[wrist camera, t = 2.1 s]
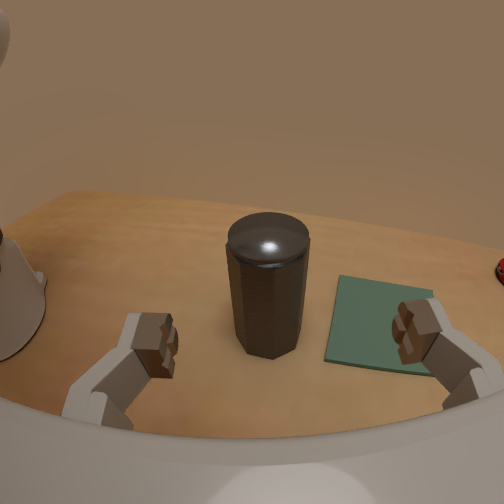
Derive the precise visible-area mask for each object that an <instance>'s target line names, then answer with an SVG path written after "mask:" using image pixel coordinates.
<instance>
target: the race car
mask: <svg viewBox="0 0 504 504" xmlns="http://www.w3.org/2000/svg"><path fill="white" fill-rule="evenodd" d="M496 273H497V276H498V277H499V279H500V280H501V281H502V283H503V284H504V258H503V259H501V260H500V262H499V263H498V265H497V268H496Z"/></svg>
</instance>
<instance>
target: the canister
mask: <svg viewBox="0 0 504 504" xmlns="http://www.w3.org/2000/svg"><path fill="white" fill-rule="evenodd" d="M225 246H226V255H227V264H228V273H229V281H230V290H231V298H232V307H233V315H234V323H235V331H236V336H237V338H238V340H239V341H240V343H241V344H242V346H243V348H244V349H245V351H246V352H247V354H250V355H254V356H259V357H263V358H267V359H272V360H273V359H275V358H277V357H280V356H282V355H284V354H286V353H288V352H290V351H292V350H294V349H295V348H296V344H297V341H298V337H299V334H300V330H301V323H302V315H303V306H304V298H305V289H306V279H307V270H308V259H309V249H310V238H309V232H308V229H307V227H306V226H305V225H304V224H303V223H302V222H301V221H300V220H298V219H296V218H294V217H292V216H289V215H286V214H282V213H274V212H263V213H256V214H252V215H248V216H245V217H243V218H241V219H239V220H238V221H236V222H235V223H234V224H233V225H232V226H231V227H230V229H229V232H228V242H227V243H226V245H225Z"/></svg>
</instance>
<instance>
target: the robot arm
mask: <svg viewBox="0 0 504 504" xmlns="http://www.w3.org/2000/svg"><path fill="white" fill-rule="evenodd" d="M9 38H10V28H9V23H8V20H7V17H6V15H5V13H4V11H3V10H2V9H1V8H0V67H1V65H2V63H3V61H4V59H5V56H6V53H7V49H8V46H9ZM46 281H47V278H46V276H45V275H44V273H43V272H37V271H33V270H32V268H31V266H30V265H29V263H28V261H27V260H26V258H25V256H24V255H23V253H22V251H21V249H20V248H19V246H18V244H17V242H16V241H15V240H11V239H9V238H4V237H3V234H2V231H1V229H0V361H1V360H4V359H6V358H8V357H10V356H11V355H13V354H14V353H16V352H17V351H18V350H20V349H21V348H22V347H23V346H24V345H25V344H26V343H27V342H28V341H29V339H30V338H31V337H32V336H33V334H34V333H35V331H36V330H37V328H38V326H39V325H40V322H41V320H42V318H43V315H44V311H45V297H44V288H45V285H46ZM397 309H398V312H399V313H398V314H397V315H396V316H395V317H394V319H393V322H392V336H393V339H394V341H395V342H396V343H397V344H398V345H400V346H399V348H398V354H399V356H400V359H401V362H402V365H407V364H413V363H419V362H422V364H423V365H424V366H425V367H426V368H427V369H428V370H429V372H430V373H431V374H432V375H433V376H434V377H435V378H436V379H437V380H438V381H439V382H440V383H441V384H442V385H443V386H444V387H445V388H446V389H447V390H448V391H449V392H450V393H451V394H450V395H449V396H448V397H447V398H446V399H445V400H444V402H443V404H442V406H443V410H442V411H439V412H435V413H432V414H428V415H424V416H420V417H416V418H412V419H408V420H404V421H399V422H395V423H390V424H385V425H380V426H375V427H369V428H363V429H357V430H351V431H344V432H336V433H328V434H319V435H309V436H297V437H281V438H253V439H228V438H200V437H185V436H173V435H162V434H154V433H145V432H138V431H132V430H133V423H132V422H131V421H130V420H129V419H128V418H127V417H126V416H125V415H124V413H123V412H124V411H125V410H126V409H127V408H128V406H129V405H130V404H131V403H132V401H133V400H134V399H135V398H136V397H137V395H138V394H139V393H140V392H141V391H142V389H143V388H144V387H145V386H146V384H147V383H148V382H149V381H150V380H151V378H168V379H173V374H174V368H175V361H174V359H173V357H174V356H175V355H176V354H177V351H178V334H177V330H176V328H175V327H174V326H172V322H173V319H172V316H171V314H169V313H140V312H130V313H129V314H128V315H127V318H126V320H125V323H124V326H123V329H122V332H121V335H120V338H119V341H118V344H117V347H116V348H112V349H111V350H110V351H109V352H108V353H106V354H105V355H104V356H103V357H102V358H101V359H100V360H99V361H98V362H96V363H95V364H94V365H93V366H92V367H91V368H90V369H89V370H88V371H86V372H85V373H84V374H83V375H82V376H81V377H80V378H79V379H78V380H77V381H75V382H74V383H73V384H72V385H71V386H70V389H69V392H68V395H67V398H66V401H65V404H64V407H63V411H62V414H61V416H59V415H55V414H51V413H48V412H44V411H41V410H37V409H34V408H31V407H28V406H25V405H22V404H19V403H16V402H13V401H10V400H7V399H5V398H2V397H0V504H504V372H503V370H502V368H501V366H500V363H499V361H498V360H497V359H496V358H494V357H493V356H492V355H491V354H489V353H488V352H487V351H485V350H484V349H483V348H481V347H480V346H479V345H478V344H476V343H475V342H474V341H472V340H471V339H470V338H468V337H467V336H466V335H464V334H463V333H462V332H460V331H459V330H458V329H454V328H453V326H452V324H451V322H450V320H449V318H448V316H447V314H446V312H445V311H444V309H443V307H442V305H441V303H440V301H439V299H437V298H428V299H418V300H411V301H402V302H401V303H400V304H399V306H398V308H397Z"/></svg>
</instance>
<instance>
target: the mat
mask: <svg viewBox="0 0 504 504" xmlns="http://www.w3.org/2000/svg"><path fill="white" fill-rule="evenodd" d="M428 298H434V296H433V290H428V289H422V288H416V287H410V286H404V285H398V284H392V283H386V282H380V281H374V280H368V279H362V278H356V277H350V276H344V275H340V277H339V283H338V289H337V296H336V302H335V308H334V313H333V319H332V325H331V330H330V335H329V340H328V345H327V350H326V355H325V360H324V361H326V362H331V363H337V364H343V365H349V366H355V367H362V368H368V369H375V370H382V371H390V372H397V373H405V374H414V375H424V376H433V375H432V374H431V373H430V372H429V370H428V369H427V368H426V367H425V366H424V365H423V364H422V362H419V363H413V364H407V365H402V362H401V359H400V356H399V354H398V348H399V346H400V345H398V344H397V343H396V342H395V341H394V339H393V336H392V322H393V319H394V317H395V316H396V315H397V314H398V313H399V312H398V309H397V308H398V306H399V304H400V303H401V302H402V301H411V300H418V299H428Z"/></svg>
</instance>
